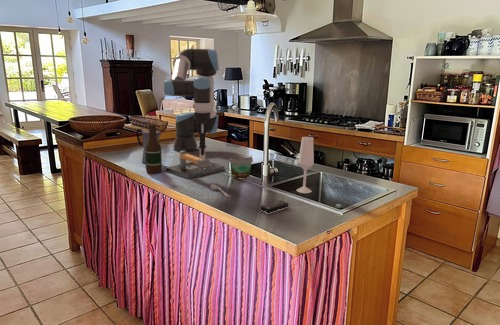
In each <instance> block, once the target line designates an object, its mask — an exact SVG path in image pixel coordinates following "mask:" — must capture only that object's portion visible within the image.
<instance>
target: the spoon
mask: <svg viewBox="0 0 500 325" xmlns="http://www.w3.org/2000/svg"><path fill="white" fill-rule="evenodd" d="M213 188H214V189H213ZM217 188H218V189H217ZM210 190H214V191H217V190H219V191H220V192H221V193H222V194H223V195H224V196H225V197H226V196H230V195H229V194H228V193H227V192H226V191H224V190H222V188H221V187H220V186H219V185H217V184H214V183H212V184H210Z"/></svg>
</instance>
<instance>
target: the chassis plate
mask: <svg viewBox="0 0 500 325" xmlns="http://www.w3.org/2000/svg"><path fill="white" fill-rule="evenodd" d="M225 167H226V166H225V165H221V164H218V163H214V162H211V161H209V165H208V166H203V167H199V166H197V164H196V163H193V162H190V161H189V162H186V169H185V170H181V169H180V164H176V165H172V166H167V167H165V172H167V173H170V174H172V175H176V176H178V177H181V178H184V179H187V180H190V179H194V178H199V177H202V176H206V175H210V174H214V173H218V172H221V171H220V170H222V171H225V170H226V169H225ZM224 169H225V170H224ZM217 171H218V172H217Z"/></svg>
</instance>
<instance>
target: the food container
mask: <svg viewBox="0 0 500 325" xmlns="http://www.w3.org/2000/svg"><path fill="white" fill-rule="evenodd" d="M253 161H254V159H253V156H252V155H250V156H249V157H238V158H232V157H230V158H229V160H228V163H230V175H231V178H232V177H233V179H235V178H246V179H248V178H247V177H249V176H250V175H251V168H252V163H253ZM250 177H251V176H250ZM250 177H249V178H250Z"/></svg>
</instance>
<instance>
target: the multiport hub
mask: <svg viewBox="0 0 500 325" xmlns="http://www.w3.org/2000/svg"><path fill="white" fill-rule="evenodd" d="M285 207H288V208H289V203H288V202H286V201H284V200H277V201H274V202H271V203H267V204H263V205H261V206H260V211H261V210H263V211H266V212H267V213H270V212H273V211H276V210H278V209H282V208H285Z"/></svg>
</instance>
